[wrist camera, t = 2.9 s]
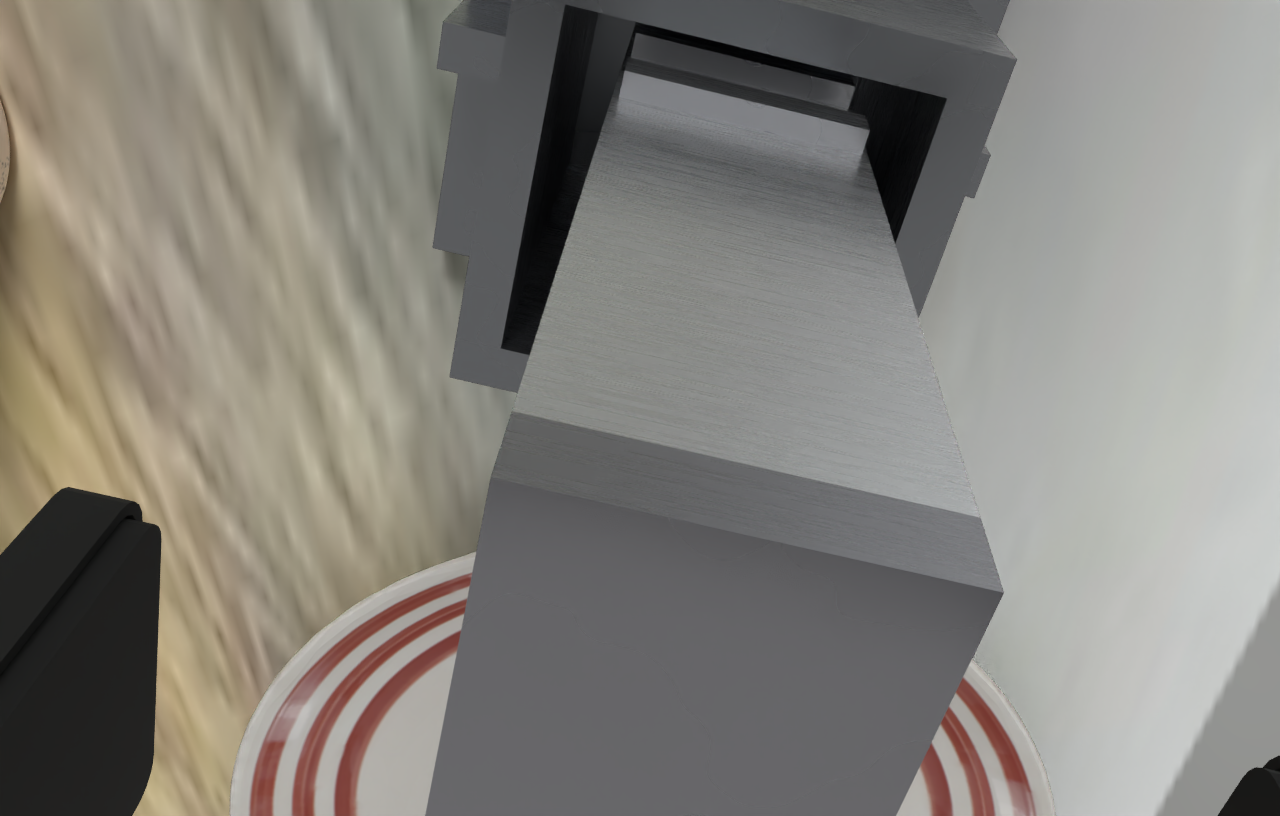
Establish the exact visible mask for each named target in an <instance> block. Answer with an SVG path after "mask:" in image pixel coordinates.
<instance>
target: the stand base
mask: <svg viewBox="0 0 1280 816" xmlns="http://www.w3.org/2000/svg"><path fill="white" fill-rule="evenodd" d="M1008 3H1009V0H464V1H463V2H462V3H461V4H460V5H459V6H458V7H457V8H456V9H455V10H454V11H453V12H452V13H451V14H450V15H449V16H448V17H447V18H446V19H445V20H444V21H443V27H442V34H441V41H440V48H439V56H438V63H437V69H441V70H446V71H450V72H454V73H458V79H457V86H456V93H455V99H454V106H453V113H452V120H451V127H450V133H449V140H448V147H447V154H446V161H445V167H444V174H443V181H442V188H441V194H440V201H439V208H438V215H437V222H436V228H435V235H434V242H433V248H435V249H439V250H444V251H448V252H452V253H456V254H461V255H465V256H469V262H468V268H467V274H466V281H465V287H464V293H463V299H462V305H461V311H460V317H459V323H458V329H457V335H456V341H455V347H454V353H453V359H452V365H451V372H450V377H451V378H455V379H459V380H464V381H468V382H472V383H477V384H481V385H486V386H490V387H494V388H499V389H503V390H508V391H512V392H516V393H518V390H519V387H520V384H521V381H522V378H523V375H524V372H525V368H526V365H527V362H528V359H529V356H530V353H531V350H532V347H533V343H534V340H535V337H536V334H537V331H538V328H539V325H540V321H541V318H542V315H543V312H544V309H545V306H546V303H547V299H548V296H549V293H550V290H551V287H552V284H553V281H554V277H555V274H556V271H557V268H558V265H559V262H560V259H561V255H562V252H563V249H564V246H565V243H566V240H567V237H568V234H569V230H570V227H571V224H572V221H573V218H574V215H575V212H576V208H577V205H578V202H579V199H580V196H581V193H582V190H583V186H584V183H585V180H586V177H587V174H588V171H589V168H590V164H591V161H592V158H593V155H594V152H595V149H596V146H597V142H598V139H599V136H600V133H601V130H602V127H603V124H604V120H605V117H606V114H607V111H608V108H609V105H610V102H611V99H612V95H613V92H614V89H615V86H616V83H617V80H618V77H619V73H620V70H621V67H622V64H623V61H624V58H625V55H626V51H627V48H628V45H629V42H630V39H631V36H632V33H633V29H634V26H635V23H636V22H639V23H643V24H647V25H651V26H655V27H660V28H664V29H668V30H672V31H676V32H680V33H684V34H688V35H692V36H696V37H700V38H704V39H708V40H712V41H716V42H720V43H725V44H729V45H733V46H737V47H741V48H745V49H749V50H753V51H757V52H761V53H765V54H769V55H773V56H777V57H781V58H786V59H790V60H794V61H798V62H802V63H806V64H810V65H814V66H818V67H822V68H826V69H830V70H834V71H838V72H842V73H846V74H850V75H851V76H852V79H853V82H854V85H855V89H854V92H853V95H852V99H851V104H852V107H853V110H854V113H857V114H861V115H865V117H866V120H867V123H868V126H869V129H870V132H869V135H868V138H867V141H866V144H865V149H866V152H867V155H868V159H869V162H870V165H871V168H872V171H873V175H874V178H875V181H876V184H877V187H878V191H879V194H880V197H881V200H882V203H883V207H884V210H885V213H886V216H887V219H888V223H889V226H890V229H891V232H892V235H893V239H894V242H895V245H896V248H897V252H898V255H899V258H900V261H901V264H902V268H903V271H904V274H905V277H906V280H907V284H908V287H909V290H910V293H911V296H912V300H913V303H914V306H915V309H916V312H917V316H918V318H919V315H920V313H921V310H922V308H923V305H924V302H925V300H926V297H927V294H928V292H929V289H930V287H931V284H932V281H933V279H934V276H935V273H936V271H937V268H938V266H939V263H940V260H941V258H942V255H943V252H944V250H945V247H946V244H947V242H948V239H949V237H950V234H951V231H952V229H953V226H954V223H955V221H956V218H957V216H958V213H959V210H960V208H961V205H962V202H963V200H964V197H965V196H967V197H971V198H974V197H975V195H976V192H977V189H978V187H979V184H980V182H981V179H982V176H983V174H984V171H985V169H986V166H987V163H988V161H989V158H990V156H991V155H990V153H989V152H988V150H987V148H986V147H985V142H986V139H987V137H988V134H989V131H990V129H991V126H992V124H993V121H994V118H995V116H996V113H997V110H998V108H999V105H1000V103H1001V100H1002V97H1003V95H1004V92H1005V89H1006V87H1007V84H1008V82H1009V79H1010V76H1011V74H1012V71H1013V68H1014V66H1015V63H1016V61H1017V59H1016V58H1015V57H1014V55H1013V54H1012V53H1011V52H1010V51H1009V49H1008V48H1007V47H1006V46H1005V45H1004V43H1003V42H1002V41H1001V40H1000V39H999V38H998V36H997V33H998V30H999V28H1000V25H1001V22H1002V19H1003V17H1004V14H1005V11H1006V9H1007V6H1008Z"/></svg>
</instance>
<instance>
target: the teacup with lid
mask: <svg viewBox="0 0 1280 816" xmlns="http://www.w3.org/2000/svg"><path fill="white" fill-rule="evenodd" d="M9 164H10V142H9V134H8V127H7V122H6V118H5V113H4V110H3V106H2V103H1V100H0V203H1V200H2V198H3V195H4V192H5V188H6V184H7V179H8V174H9Z"/></svg>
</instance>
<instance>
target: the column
mask: <svg viewBox="0 0 1280 816" xmlns="http://www.w3.org/2000/svg"><path fill="white" fill-rule="evenodd" d="M854 89H855V85H854V82H853V79H852V76H851V75H850V74H846V73H842V72H838V71H834V70H830V69H826V68H822V67H818V66H814V65H810V64H806V63H802V62H798V61H794V60H790V59H786V58H781V57H777V56H773V55H769V54H765V53H761V52H757V51H753V50H749V49H745V48H741V47H737V46H733V45H729V44H725V43H720V42H716V41H712V40H708V39H704V38H700V37H696V36H692V35H688V34H684V33H680V32H676V31H672V30H668V29H664V28H660V27H655V26H651V25H647V24H643V23H639V22H636V23H635V26H634V29H633V33H632V36H631V39H630V42H629V45H628V48H627V51H626V55H625V58H624V61H623V64H622V67H621V70H620V73H619V77H618V80H617V83H616V86H615V89H614V92H613V95H612V99H611V102H610V105H609V108H608V111H607V114H606V117H605V120H604V124H603V127H602V130H601V133H600V136H599V139H598V142H597V146H596V149H595V152H594V155H593V158H592V161H591V164H590V168H589V171H588V174H587V177H586V180H585V183H584V186H583V190H582V193H581V196H580V199H579V202H578V205H577V208H576V212H575V215H574V218H573V221H572V224H571V227H570V230H569V234H568V237H567V240H566V243H565V246H564V249H563V252H562V255H561V259H560V262H559V265H558V268H557V271H556V274H555V277H554V281H553V284H552V287H551V290H550V293H549V296H548V299H547V303H546V306H545V309H544V312H543V315H542V318H541V321H540V325H539V328H538V331H537V334H536V337H535V340H534V343H533V347H532V350H531V353H530V356H529V359H528V362H527V365H526V368H525V372H524V375H523V378H522V381H521V384H520V387H519V390H518V394H517V397H516V400H515V403H514V406H513V409H512V412H511V416H510V419H509V422H508V425H507V428H506V431H505V434H504V438H503V441H502V444H501V447H500V450H499V453H498V456H497V460H496V463H495V466H494V469H493V472H492V475H491V479H490V484H489V489H488V494H487V499H486V505H485V510H484V515H483V520H482V525H481V530H480V535H479V541H478V546H477V551H476V556H475V561H474V566H473V572H472V577H471V582H470V587H469V592H468V597H467V602H466V608H465V613H464V618H463V623H462V628H461V633H460V638H459V644H458V649H457V654H456V659H455V664H454V669H453V675H452V680H451V685H450V690H449V695H448V700H447V705H446V711H445V716H444V721H443V726H442V731H441V736H440V742H439V747H438V752H437V757H436V762H435V767H434V772H433V778H432V783H431V788H430V793H429V798H428V803H427V808H426V814H425V816H896V815H897V813H898V811H899V809H900V807H901V805H902V803H903V801H904V798H905V796H906V794H907V792H908V790H909V788H910V786H911V784H912V782H913V780H914V778H915V776H916V774H917V772H918V769H919V767H920V765H921V763H922V761H923V759H924V757H925V755H926V753H927V751H928V749H929V747H930V745H931V743H932V740H933V738H934V736H935V734H936V732H937V730H938V728H939V726H940V724H941V722H942V720H943V718H944V716H945V714H946V712H947V709H948V707H949V705H950V703H951V701H952V699H953V697H954V695H955V693H956V691H957V689H958V687H959V685H960V683H961V680H962V678H963V676H964V674H965V672H966V670H967V668H968V666H969V664H970V662H971V660H972V658H973V656H974V654H975V651H976V649H977V647H978V645H979V643H980V641H981V639H982V637H983V635H984V633H985V631H986V629H987V627H988V625H989V622H990V620H991V618H992V616H993V614H994V612H995V610H996V608H997V606H998V604H999V602H1000V600H1001V598H1002V596H1003V593H1004V591H1003V588H1002V585H1001V582H1000V579H999V575H998V572H997V569H996V566H995V563H994V559H993V556H992V553H991V550H990V547H989V543H988V540H987V537H986V534H985V531H984V527H983V524H982V521H981V518H980V514H979V511H978V508H977V505H976V502H975V498H974V495H973V492H972V489H971V486H970V482H969V479H968V476H967V473H966V470H965V466H964V463H963V460H962V457H961V454H960V450H959V447H958V444H957V441H956V438H955V434H954V431H953V428H952V425H951V421H950V418H949V415H948V412H947V409H946V405H945V402H944V399H943V396H942V393H941V389H940V386H939V383H938V380H937V377H936V373H935V370H934V367H933V364H932V361H931V357H930V354H929V351H928V348H927V345H926V341H925V338H924V335H923V332H922V328H921V325H920V322H919V319H918V316H917V312H916V309H915V306H914V303H913V300H912V296H911V293H910V290H909V287H908V284H907V280H906V277H905V274H904V271H903V268H902V264H901V261H900V258H899V255H898V252H897V248H896V245H895V242H894V239H893V235H892V232H891V229H890V226H889V223H888V219H887V216H886V213H885V210H884V207H883V203H882V200H881V197H880V194H879V191H878V187H877V184H876V181H875V178H874V175H873V171H872V168H871V165H870V162H869V159H868V155H867V152H866V149H865V144H866V141H867V138H868V135H869V132H870V129H869V126H868V123H867V120H866V117H865V115H861V114H857V113H854V110H853V107H852V104H851V99H852V95H853V92H854Z"/></svg>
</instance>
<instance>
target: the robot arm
mask: <svg viewBox="0 0 1280 816" xmlns="http://www.w3.org/2000/svg"><path fill="white" fill-rule="evenodd" d="M160 563H161V531H160V528H159V527H158V526H157V525H155V524H150V523H145V522H143V521H142V511H141V508H140V506H139V504H137V503H136V502H134V501H129V500H125V499H120V498H116V497H111V496H107V495H102V494H98V493H93V492H88V491H84V490H79V489H75V488H70V487H67V488H64V489H61V490H60V491H59V492H57V493H56V494H55V495H54V496H53V497H52V498H51V499H50V500H49V501H48V503H47V504H46V505H45V506H44V507H43V508H42V509H41V510H40V511H39V513H38V514H37V515H36V516H35V517H34V518H33V519H32V520H31V521H30V523H29V524H28V525H27V526H26V527H25V528H24V529H23V530H22V531H21V533H20V534H19V535H18V536H17V537H16V538H15V539H14V540H13V541H12V543H11V544H10V545H9V546H8V547H7V548H6V549H5V550H4V551H3V553H2V554H1V555H0V816H132V815H133V813H134V811H135V810H136V808H137V806H138V804H139V802H140V800H141V798H142V796H143V794H144V791H145V789H146V786H147V783H148V780H149V777H150V773H151V769H152V764H153V756H154V732H155V704H156V676H157V648H158V619H159V591H160ZM1218 816H1280V756H1277V757H1275V758H1273V759H1271V760H1269V761H1268V762H1267V764H1266V765H1265V766H1264V767H1263V768H1254V769H1252V770H1250V771H1248V772H1247V773H1246V775H1245V776H1244V777H1243V778H1242V780H1241V781H1240V783H1239V784H1238V786H1237V787H1236V789H1235V790H1234V792H1233V793H1232V795H1231V796H1230V798H1229V799H1228V801H1227V802H1226V804H1225V805H1224V807H1223V808H1222V810H1221V811H1220V813H1219V814H1218Z"/></svg>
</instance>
